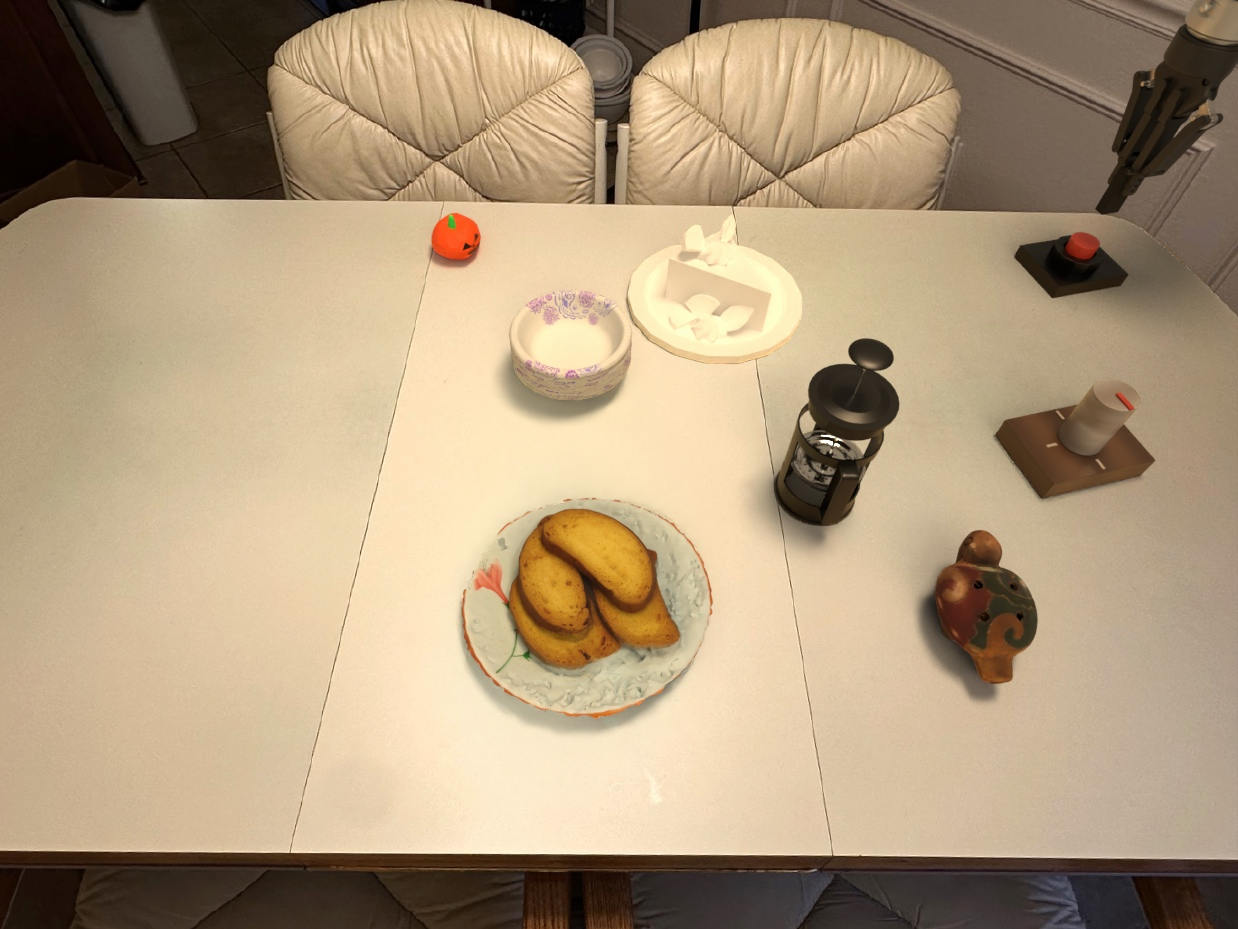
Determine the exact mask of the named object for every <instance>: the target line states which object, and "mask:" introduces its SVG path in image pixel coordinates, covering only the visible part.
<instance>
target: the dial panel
mask: <svg viewBox="0 0 1238 929" xmlns="http://www.w3.org/2000/svg"><path fill="white" fill-rule="evenodd" d="M1078 404H1079V403H1078ZM1078 404H1073V405H1068V406H1064V407H1058V408H1054V409H1050V410H1049V409H1048V410H1045V411H1039V412H1036V413H1030V414H1026V415H1021V416H1017V417H1011V418H1007V419H1004V421H1003V422H1002V424H1001V425H1000V427H999V428H998V430H997V431H996V433H995V434H994V436H995V437H996V439H997V440H998V441H999V443H1000V444H1001V445H1002V447H1003V449H1004V450H1005V451H1006V453H1007V454H1008V455H1009V457H1010V458H1011V459H1012V460H1013V462H1014V464H1016V466H1017V467H1018V469H1019V470H1020V471H1021V473H1022V474H1023V475H1024V477H1025V478H1026V479H1027V481H1028V482H1029V484H1030V485H1031V486H1032V488H1033V489H1034V490H1035V492H1036V493H1037V495H1039V497H1040V499H1047V498H1050V497H1055V496H1058V495H1059V496H1060V495H1062V494H1068V493H1071V492H1076V491H1081V490H1084V489H1089V488H1092V487H1097V486H1100V485H1105V484H1109V483H1114V482H1117V481H1122V480H1126V479H1131V478H1136V477H1140V476H1142V475H1143V474H1144V473H1145V472H1146V471H1147V470H1148V469H1149V468H1150V467H1151V466H1152V465H1153V464H1154V463H1155V462H1156V459H1155V457H1153V455H1152V454H1151V453H1150V452H1149V451H1148V450H1147V449H1146V448H1145V447H1144V445H1143V444H1142V443H1141V442H1140V440H1139V439H1138V438H1137V437H1136V435H1134V434H1133V433H1132V431H1131V430H1130V428H1128V427H1127V426H1126V425H1125V423H1124V424H1123V425H1122V426H1121V428H1120V429H1119V430H1118V431H1117V432H1116V433H1115V434H1114V436H1113V437H1112V438H1111V439H1110V440H1109V441H1108V442H1107V443H1106V445H1105V446H1104V447H1103V448H1102V449H1101V450H1100V451H1099V452H1098V453H1097V454H1094V455H1090V456H1086V455H1080V454H1077V453H1074V452H1072V451H1070V450H1069V449H1067V448H1066V447H1065V446H1064V445H1063V444H1062V443H1061V441H1060V440H1059V437H1058V430H1059V428H1060V427H1061V425H1062V424H1063V423H1064V422H1065V420H1066V419H1067V418H1068V416H1069V415H1070V414H1071V413H1072V411H1073V410H1074V409H1075V408H1076V406H1077V405H1078Z"/></svg>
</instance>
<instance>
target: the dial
mask: <svg viewBox="0 0 1238 929" xmlns="http://www.w3.org/2000/svg"><path fill="white" fill-rule="evenodd" d="M1076 405H1077V404H1076ZM1140 405H1141V397H1140V394H1139V393H1138V392H1137V390H1136V389H1135V388H1133V387H1132V386H1131V385H1130V384H1128V383H1126V382H1124V381H1122V380H1120V379H1116V378H1110V377H1104V378H1100V379H1098V380H1095V382H1094V383H1093V384H1092V385H1091V387H1090V389H1088V391H1087V392H1086V393H1085V394H1084V396H1083V397H1082V398H1081V400H1079V402H1078V405H1077V406H1076V408H1075V409H1074V410H1073V411H1072V413H1071V414H1070V415H1069V416H1068V418H1067V419H1066V420H1065V422H1064V423H1063V424H1062V425H1061V427H1060V428H1059V430H1058V437H1059V440H1060V441H1061V443H1062V444H1063V445H1064V446H1065V447H1066V448H1067V449H1069V450H1070V451H1072V452H1074V453H1077V454H1080V455H1086V456H1090V455H1094V454H1097V453H1098V452H1099V451H1100V450H1101V449H1102V448H1103V447H1104V446H1105V445H1106V443H1107V442H1108V441H1109V440H1110V439H1111V438H1112V437H1113V436H1114V434H1115V433H1116V432H1117V431H1118V430H1119V429H1120V428H1121V426H1122V425H1123V424H1124V425H1125V423H1126V422H1127V421H1128V420H1129V419H1130V418H1131V416H1133V414H1134V413H1135V412H1136V410H1138V408H1139V407H1140Z"/></svg>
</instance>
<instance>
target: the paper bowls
mask: <svg viewBox="0 0 1238 929" xmlns="http://www.w3.org/2000/svg"><path fill="white" fill-rule="evenodd" d="M632 329H633V328H632V325H631V322H630V320H629V318H628V315H627V314H626V313H625V311H624V310H623V309H622V308H621V307H620V306H619V305H618V304H617V303H616V302H614V301H613V300H611V299H609V298H608V297H605V296H603V295H601V294H599V293H595V292H592V291H587V290H580V289H579V290H576V289H570V290H569V289H565V290H557V291H552V292H548V293H545V294H542V295H539V296H537V297H536V298H534V299H531V300H530V301H529V302H527V303H526V304H525V305H523V306H522V307H521V308H520V309H519V310H518V312H517V313H516V314H515V316H514V317H513V319H512V321H511V323H510V327H509V331H508V332H509V333H508V337H509V346H510V353H511V362H512V366H513V369H514V373H515V375H516V376H517V378H518V379H519V381H520V382H521V383H522V384H523V385H524V386H526V387H527V388H528V389H530V390H531V391H532V392H534V393H536V394H538V395H541V396H543V397H546V398H550V399H552V400H558V401H559V400H560V401H580V400H585V399H591V398H595V397H599V396H600V395H603V394H605V393H608V392H609V391H611V390H612V389H614V388H615V387H617V386H618V385H619V383H621V381H622V380H623V379H624V378H625V376H626V375H627V372H628V371H629V369H630V366H631V361H632V347H633V342H632V341H633V339H632V338H633V330H632Z"/></svg>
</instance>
